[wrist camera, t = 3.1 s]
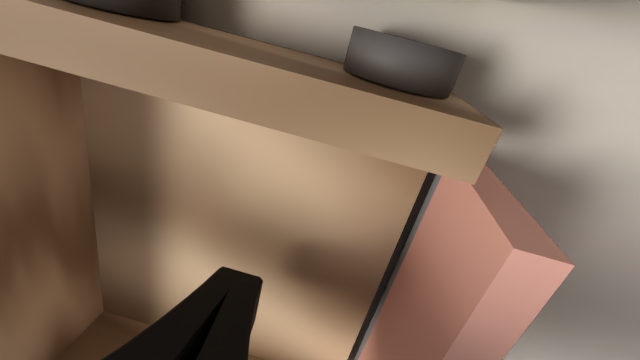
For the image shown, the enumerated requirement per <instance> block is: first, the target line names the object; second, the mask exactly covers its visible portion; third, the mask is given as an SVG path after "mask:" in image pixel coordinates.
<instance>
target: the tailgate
mask: <svg viewBox="0 0 640 360" xmlns="http://www.w3.org/2000/svg"><path fill="white" fill-rule="evenodd" d="M574 266H575V265H574V264H573V263H572V262H571V260H570V259H569V258H568V257H567V256H566V255H565V254H564V252H563V251H562V250H561V249H560V248H559V247H558V246H557V244H556V243H555V242H554V241H553V240H552V239H551V238H550V237H549V235H548V234H547V233H546V232H545V231H544V230H543V229H542V227H541V226H540V225H539V224H538V223H537V222H536V221H535V220H534V218H533V217H532V216H531V215H530V214H529V213H528V212H527V210H526V209H525V208H524V207H523V206H522V205H521V204H520V203H519V201H518V200H517V199H516V198H515V197H514V196H513V195H512V193H511V192H510V191H509V190H508V189H507V188H506V187H505V185H504V184H503V183H502V182H501V181H500V180H499V179H498V178H497V176H496V175H495V174H494V173H493V172H492V171H491V170H490V168H489V167H488V166H487V165H486V164H485V165H484V167H483V169H482V171H481V173H480V175H479V177H478V179H477V181H476V183H475V185H474V184H470V183H466V182H463V181H459V180H455V179H452V178H448V177H445V176H441V175H437V174H436V176H435V178H434V180H433V182H432V185H431V187H430V189H429V191H428V194H427V196H426V198H425V200H424V203H423V205H422V207H421V209H420V212H419V214H418V216H417V218H416V221H415V223H414V225H413V227H412V230H411V232H410V234H409V236H408V239H407V241H406V243H405V245H404V248H403V250H402V252H401V254H400V257H399V259H398V261H397V263H396V266H395V268H394V270H393V273H392V275H391V277H390V279H389V282H388V284H387V286H386V288H385V291H384V293H383V295H382V297H381V300H380V302H379V304H378V306H377V309H376V311H375V313H374V315H373V318H372V320H371V322H370V324H369V327H368V329H367V331H366V333H365V336H364V338H363V340H362V342H361V345H360V347H359V349H358V351H357V354H356V356H355V358H354V360H503V358H504V357H505V356H506V354H507V353H508V352H509V351H510V349H511V348H512V347H513V345H514V344H515V343H516V341H517V340H518V339H519V338H520V336H521V335H522V334H523V332H524V331H525V330H526V329H527V327H528V326H529V325H530V323H531V322H532V321H533V319H534V318H535V317H536V316H537V314H538V313H539V312H540V310H541V309H542V308H543V307H544V305H545V304H546V303H547V301H548V300H549V299H550V297H551V296H552V295H553V294H554V292H555V291H556V290H557V288H558V287H559V286H560V285H561V283H562V282H563V281H564V279H565V278H566V277H567V275H568V274H569V273H570V272H571V270H572V269H573V268H574Z"/></svg>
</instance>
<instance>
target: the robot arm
mask: <svg viewBox="0 0 640 360" xmlns="http://www.w3.org/2000/svg"><path fill="white" fill-rule="evenodd" d="M262 284H263V280H262V279H261V277H258V276H255V275H252V274H248V273H245V272H241V271H238V270H234V269H231V268H227V267H224V266H223V267H221V268H219V269H218V270H217V271H216V272H215V273H214V274H213V275H211V276H210V277H209V278H208V279H207V280H206V281H205V282H204V283H203V284H201V285H200V286H199V287H198V288H197V289H196V290H194V291H193V292H192V293H191V294H190V295H189V296H187V297H186V298H185V299H184V300H182V301H181V302H180V303H179V304H177V305H176V306H175V307H174V308H172V309H171V310H170V311H169V312H167V313H166V314H165V315H164V316H162V317H161V318H160V319H158V320H157V321H156V322H154V323H153V324H152V325H150V326H149V327H147V328H146V329H145V330H143V331H142V332H141V333H139V334H138V335H136V336H135V337H134V338H132V339H131V340H129V341H128V342H127V343H125V344H124V345H122V346H121V347H119V348H118V349H116V350H115V351H113V352H112V353H110V354H109V355H107V356H106V357H104V358H102V359H101V360H248V353H249V342H250V335H251V331H252V328H253V325H254V322H255V318H256V314H257V309H258V304H259V299H260V294H261V289H262Z"/></svg>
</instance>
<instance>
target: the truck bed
mask: <svg viewBox="0 0 640 360" xmlns="http://www.w3.org/2000/svg"><path fill="white" fill-rule="evenodd" d="M180 16H181V0H0V360H101V359H102V358H104V357H106V356H107V355H109V354H110V353H112V352H113V351H115V350H116V349H118V348H119V347H121V346H122V345H124V344H125V343H127V342H128V341H129V340H131V339H132V338H134V337H135V336H136V335H138V334H139V333H141V332H142V331H143V330H145V329H146V328H147V327H149V326H150V325H152V324H153V323H154V322H156V321H157V320H158V319H160V318H161V317H162V316H164V315H165V314H166V313H167V312H169V311H170V310H171V309H172V308H174V307H175V306H176V305H177V304H179V303H180V302H181V301H182V300H184V299H185V298H186V297H187V296H189V295H190V294H191V293H192V292H193V291H194V290H196V289H197V288H198V287H199V286H200V285H201V284H203V283H204V282H205V281H206V280H207V279H208V278H209V277H210V276H211V275H213V274H214V273H215V272H216V271H217V270H218V269H219V268H221V267H223V266H224V267H227V268H231V269H234V270H238V271H241V272H245V273H248V274H252V275H255V276H258V277H261V279H262V280H263V284H262V289H261V294H260V299H259V304H258V309H257V314H256V318H255V322H254V325H253V328H252V331H251V335H250V342H249V353H248V360H347V359H348V357H349V355H350V352H351V350H352V348H353V345H354V343H355V341H356V338H357V336H358V334H359V331H360V329H361V327H362V324H363V322H364V320H365V317H366V315H367V313H368V310H369V308H370V306H371V303H372V301H373V299H374V296H375V294H376V292H377V289H378V287H379V285H380V282H381V280H382V278H383V275H384V273H385V271H386V268H387V266H388V264H389V261H390V259H391V257H392V254H393V252H394V250H395V247H396V245H397V243H398V240H399V238H400V236H401V233H402V231H403V229H404V226H405V224H406V222H407V219H408V217H409V215H410V212H411V210H412V208H413V205H414V203H415V201H416V198H417V196H418V194H419V191H420V189H421V187H422V185H423V182H424V180H425V178H426V175H427V173H428V172H430V173H434V174H437V175H441V176H445V177H448V178H452V179H455V180H459V181H463V182H466V183H470V184H474V185H475V183H476V181H477V179H478V177H479V175H480V173H481V171H482V169H483V167H484V165H485V164H486V162H487V160H488V158H489V156H490V154H491V152H492V150H493V148H494V146H495V144H496V142H497V140H498V138H499V136H500V134H501V132H502V130H503V129H502V128H501V127H500V126H498V125H497V124H495V123H494V122H493V121H491V120H490V119H489V118H487V117H486V116H484V115H483V114H482V113H480V112H479V111H477V110H476V109H475V108H473V107H472V106H470V105H469V104H468V103H466V102H465V101H464V100H462V99H461V98H459V97H458V96H457V95H455V94H454V93H451V91H452V88H453V86H454V83H455V81H456V79H457V76H458V74H459V71H460V69H461V67H462V64H463V62H464V59H465V57H466V55H464V54H460V53H457V52H453V51H450V50H446V49H442V48H438V47H435V46H431V45H427V44H423V43H420V42H416V41H412V40H408V39H404V38H401V37H397V36H393V35H389V34H385V33H381V32H377V31H374V30H370V29H366V28H362V27H357V26H354V27H353V31H352V35H351V39H350V43H349V47H348V51H347V55H346V59H345V62H344V64H343V63H339V62H336V61H332V60H328V59H324V58H321V57H317V56H313V55H309V54H306V53H302V52H298V51H294V50H291V49H287V48H283V47H280V46H276V45H272V44H268V43H265V42H261V41H257V40H253V39H250V38H246V37H242V36H238V35H235V34H231V33H227V32H223V31H220V30H216V29H212V28H208V27H205V26H201V25H197V24H194V23H190V22H186V21H182V20H180Z"/></svg>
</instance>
